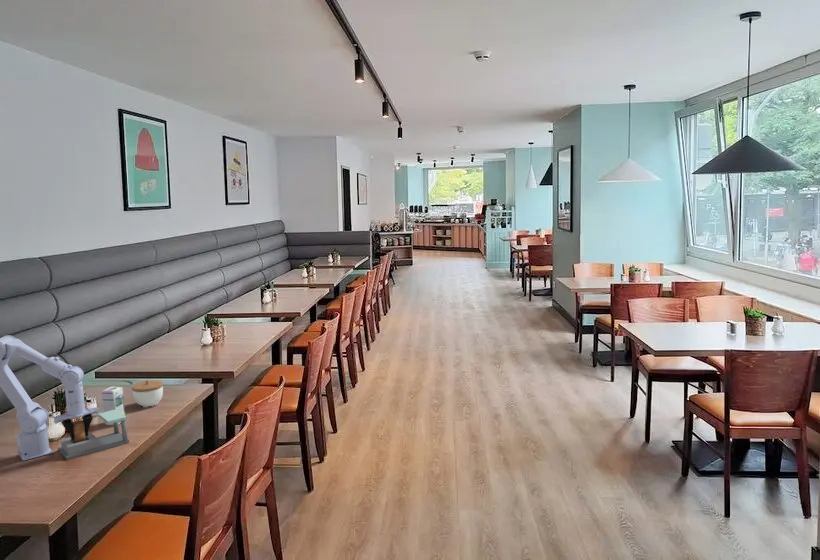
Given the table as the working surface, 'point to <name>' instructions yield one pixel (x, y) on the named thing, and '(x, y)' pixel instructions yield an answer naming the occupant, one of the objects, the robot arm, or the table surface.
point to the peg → (79, 431)
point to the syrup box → (113, 400)
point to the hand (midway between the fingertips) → (79, 437)
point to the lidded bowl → (148, 392)
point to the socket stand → (97, 438)
